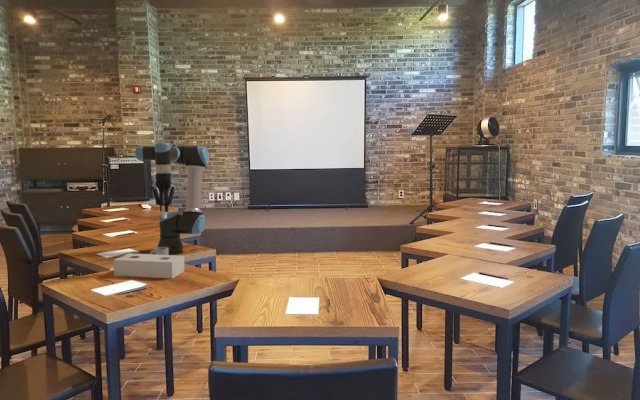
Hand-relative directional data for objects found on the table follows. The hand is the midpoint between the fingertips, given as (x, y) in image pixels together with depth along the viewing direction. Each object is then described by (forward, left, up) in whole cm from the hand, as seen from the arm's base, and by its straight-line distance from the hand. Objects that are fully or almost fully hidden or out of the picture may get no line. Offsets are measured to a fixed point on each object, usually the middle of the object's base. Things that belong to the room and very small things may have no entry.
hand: (164, 218), depth 247 cm
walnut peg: (+13, -10, -25) cm, 30 cm away
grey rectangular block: (+13, -2, -26) cm, 29 cm away
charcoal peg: (+13, +6, -25) cm, 29 cm away
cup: (-5, -6, -26) cm, 28 cm away
